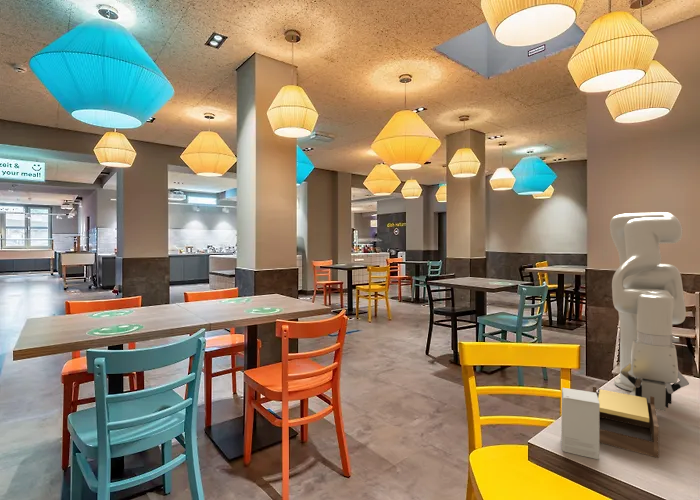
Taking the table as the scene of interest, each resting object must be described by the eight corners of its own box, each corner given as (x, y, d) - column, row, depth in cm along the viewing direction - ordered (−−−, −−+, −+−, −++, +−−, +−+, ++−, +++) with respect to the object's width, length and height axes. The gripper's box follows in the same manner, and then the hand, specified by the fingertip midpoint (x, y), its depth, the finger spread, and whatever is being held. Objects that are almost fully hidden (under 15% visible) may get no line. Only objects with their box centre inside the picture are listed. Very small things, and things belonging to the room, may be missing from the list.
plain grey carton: (641, 399, 107) (641, 375, 107) (663, 403, 104) (664, 379, 104) (641, 406, 103) (642, 381, 103) (665, 411, 100) (665, 385, 100)
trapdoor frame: (593, 414, 104) (593, 384, 104) (653, 428, 97) (653, 395, 97) (588, 439, 91) (588, 405, 91) (658, 457, 83) (658, 420, 83)
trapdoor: (598, 392, 103) (598, 388, 103) (648, 401, 96) (648, 397, 96) (594, 410, 91) (594, 406, 91) (651, 422, 85) (651, 418, 85)
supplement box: (600, 460, 82) (600, 403, 82) (561, 451, 86) (561, 397, 86) (597, 445, 89) (597, 392, 89) (561, 437, 92) (561, 386, 92)
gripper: (693, 339, 101) (692, 405, 102) (616, 331, 111) (615, 390, 112) (698, 347, 95) (696, 417, 96) (615, 337, 105) (614, 400, 106)
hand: (652, 402), depth 104 cm, fingers closed on plain grey carton, 5 cm apart
